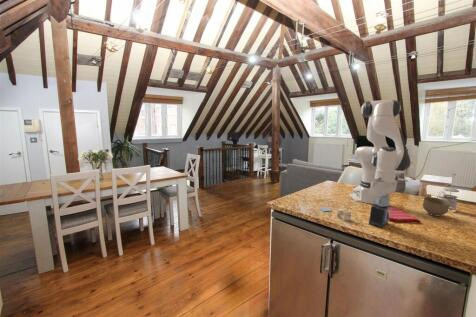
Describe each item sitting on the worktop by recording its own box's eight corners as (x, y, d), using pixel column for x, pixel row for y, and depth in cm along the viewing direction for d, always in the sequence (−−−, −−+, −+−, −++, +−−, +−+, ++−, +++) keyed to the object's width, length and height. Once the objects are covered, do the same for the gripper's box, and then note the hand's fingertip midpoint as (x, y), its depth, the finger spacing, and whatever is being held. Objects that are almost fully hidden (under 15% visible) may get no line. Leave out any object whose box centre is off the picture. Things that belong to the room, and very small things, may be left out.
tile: (318, 208, 152) (318, 207, 152) (327, 208, 153) (327, 207, 153) (322, 211, 147) (322, 210, 146) (331, 211, 147) (332, 210, 147)
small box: (381, 228, 125) (383, 209, 124) (368, 224, 130) (370, 205, 129) (388, 223, 132) (391, 205, 130) (376, 219, 137) (378, 202, 135)
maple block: (336, 217, 138) (337, 209, 137) (343, 216, 140) (344, 208, 139) (343, 221, 134) (344, 212, 133) (350, 219, 135) (351, 211, 135)
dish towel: (390, 222, 134) (391, 218, 134) (369, 208, 158) (370, 204, 157) (421, 224, 134) (422, 220, 133) (396, 209, 157) (396, 205, 157)
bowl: (437, 220, 140) (440, 203, 138) (416, 212, 152) (418, 197, 150) (453, 218, 143) (455, 202, 141) (431, 210, 155) (433, 196, 154)
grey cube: (373, 203, 131) (374, 194, 130) (380, 202, 133) (381, 194, 132) (381, 206, 126) (382, 197, 126) (388, 206, 128) (389, 197, 127)
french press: (461, 213, 153) (468, 175, 149) (440, 211, 155) (447, 174, 151) (451, 208, 162) (457, 172, 158) (431, 206, 164) (437, 171, 161)
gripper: (379, 180, 119) (376, 206, 121) (400, 176, 130) (397, 201, 132) (367, 177, 125) (364, 202, 127) (388, 174, 135) (385, 197, 137)
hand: (381, 201), depth 129 cm, fingers closed on grey cube, 5 cm apart
